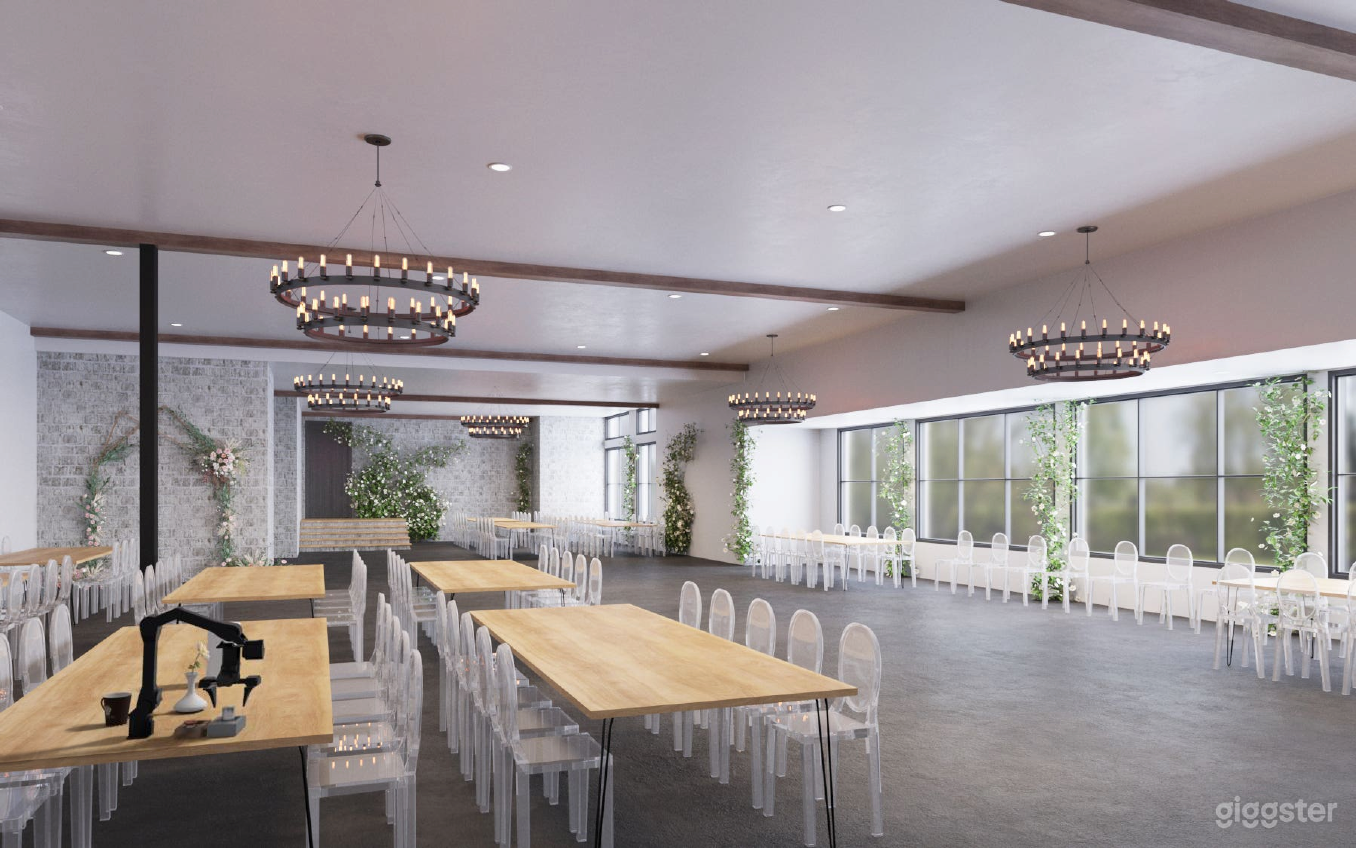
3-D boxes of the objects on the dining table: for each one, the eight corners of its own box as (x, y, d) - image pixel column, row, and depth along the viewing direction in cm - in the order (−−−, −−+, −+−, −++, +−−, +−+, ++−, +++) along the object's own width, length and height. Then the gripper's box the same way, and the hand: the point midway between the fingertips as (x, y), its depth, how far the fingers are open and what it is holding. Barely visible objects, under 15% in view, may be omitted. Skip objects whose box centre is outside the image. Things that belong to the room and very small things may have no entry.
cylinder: (233, 679, 400) (236, 621, 401) (241, 684, 390) (244, 624, 392) (202, 683, 392) (204, 623, 393) (209, 688, 382) (212, 626, 384)
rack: (206, 737, 306) (207, 725, 307) (217, 728, 318) (218, 716, 318) (235, 736, 308) (236, 724, 308) (245, 727, 320) (246, 715, 320)
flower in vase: (192, 715, 336) (195, 645, 338) (165, 713, 338) (168, 644, 340) (217, 707, 349) (220, 640, 350) (191, 705, 351) (193, 639, 353)
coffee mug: (133, 724, 323) (134, 695, 323) (105, 728, 317) (106, 699, 317) (125, 718, 331) (126, 690, 332) (97, 722, 325) (98, 693, 326)
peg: (219, 732, 312) (220, 708, 313) (223, 729, 316) (224, 706, 317) (232, 732, 313) (233, 708, 314) (235, 729, 317) (236, 705, 318)
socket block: (174, 738, 305) (174, 729, 305) (186, 729, 316) (186, 720, 316) (200, 737, 306) (200, 728, 306) (211, 728, 318) (211, 719, 318)
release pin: (181, 735, 306) (181, 722, 306) (185, 732, 309) (185, 719, 310) (194, 734, 306) (194, 722, 307) (198, 731, 310) (198, 719, 311)
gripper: (194, 666, 307) (192, 714, 306) (253, 664, 310) (252, 711, 309) (204, 660, 318) (202, 706, 316) (262, 658, 321) (260, 704, 320)
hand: (229, 707), depth 315 cm, fingers open, 9 cm apart
